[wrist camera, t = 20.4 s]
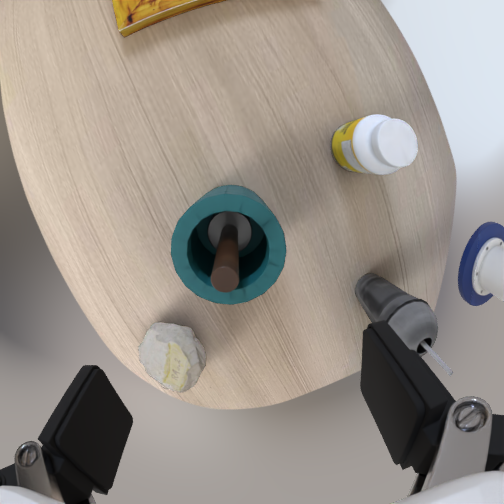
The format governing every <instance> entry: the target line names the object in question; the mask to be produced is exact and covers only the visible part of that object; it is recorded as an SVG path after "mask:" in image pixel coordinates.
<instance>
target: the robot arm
mask: <svg viewBox="0 0 504 504" xmlns="http://www.w3.org/2000/svg"><path fill="white" fill-rule="evenodd" d="M472 285H473V289H474V290H475V292H476V293H478V294H479V295H487V294H489V293H491V294H493V295H494V296H496V297H498V298H499V299H500V300H502V301H503V302H504V242H503V241H502V240H501V239H499V238H495V237H494V238H491V239H489V240H488V241H487V242H486V243H485V244H484V245H483V246H482V247H481V249H480V251H479V253H478V255H477V257H476V260H475V263H474V266H473V271H472ZM360 386H361V391H362V394H363V396H364V399H365V401H366V403H367V405H368V407H369V409H370V411H371V413H372V415H373V418H374V419H375V422H376V424H377V426H378V428H379V431H380V433H381V435H382V437H383V439H384V442H385V444H386V446H387V448H388V450H389V453H390V455H391V457H392V459H393V462H394V463H395V464H396V465H397V464H400V465H401V467H402V469H405V468H408V467H410V466H412V467H413V469H414V471H415V472H416V473H417V475H416V477H415V480H414V482H413V485H412V487H411V490H410V492H409V494H408V496H407V498H404V499H401V500H399V501H396V502H393V503H391V504H504V415H496V414H492V410H491V408H490V406H489V404H488V403H486V401H485V400H483V399H481V398H478V397H474V396H470V397H464V398H461V399H459V400H458V401H455V400H454V399H453V397H452V396H451V394H450V393H449V392H448V390H447V389H446V388H445V387H444V385H443V384H442V383H441V382H440V380H439V379H438V378H437V377H436V375H435V374H434V373H433V372H432V370H431V369H430V368H429V366H428V365H427V364H426V363H425V361H424V360H423V359H422V358H421V357H420V355H419V354H418V353H417V352H416V351H415V350H412V349H411V350H410V349H409V348H408V347H407V346H406V344H405V343H404V342H403V341H402V340H401V338H400V337H399V336H398V335H397V333H396V332H395V331H394V330H393V329H392V327H391V326H390V325H389V324H388V323H387V322H386V321H385V320H381V321H378V322H375V323H371V324H369V325H368V327H367V329H366V330H364V331H363V348H362V369H361V385H360ZM132 423H133V418H132V416H131V414H130V412H129V411H128V410H127V408H126V407H125V405H124V403H123V402H122V400H121V399H120V397H119V396H118V394H117V393H116V391H115V389H114V388H113V386H112V385H111V383H110V381H109V380H108V378H107V376H106V374H105V373H104V371H103V370H102V369H100V368H99V367H98V366H96V365H85V366H83V367H82V368H81V369H80V371H79V373H78V374H77V375H76V377H75V378H74V380H73V382H72V383H71V385H70V386H69V388H68V389H67V391H66V392H65V394H64V396H63V397H62V399H61V401H60V402H59V404H58V405H57V407H56V409H55V410H54V412H53V413H52V415H51V417H50V419H49V420H48V422H47V424H46V425H45V427H44V429H43V431H42V433H41V434H40V436H39V438H38V440H39V441H40V442H41V443H42V444H43V446H42V447H41V446H40V445H39V444H38V443H36V442H33V441H29V442H26V443H24V444H22V445H21V446H20V447H19V448H18V449H17V451H16V454H15V463H14V464H12V465H10V466H8V467H5V468H3V469H1V470H0V504H96V502H95V500H94V498H93V496H92V494H91V493H92V490H94V491H95V492H97V493H100V494H105V495H107V494H108V490H109V489H111V488H112V485H113V482H114V478H115V476H116V472H117V469H118V466H119V463H120V459H121V456H122V453H123V450H124V447H125V444H126V441H127V438H128V435H129V433H130V430H131V427H132Z"/></svg>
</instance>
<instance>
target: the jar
mask: <svg viewBox="0 0 504 504" xmlns="http://www.w3.org/2000/svg"><path fill="white" fill-rule="evenodd" d="M223 211H231V212H240V213H242V214H244V215H246V216H248V217H249V219H250V223H251V227H252V237H251V240H250V242H249V244H248V245H247V247H246V248H245V249H243V250H242V251H240V252H239V284H238V286H237V287H236V288H235V289H234V290H233V291H231V292H227V293H223V292H219V291H217V290H216V289H215V288H214V287H213V286H212V283H211V274H212V270H213V265H214V261H215V257H216V252H217V250H216V249H215V248H214V247H213V246H212V245H211V243H210V241H209V238H208V232H207V231H208V226H209V223H210V221H211V219H212V217H213V215H214V214H215V213H218V212H223ZM285 256H286V243H285V237H284V233H283V230H282V228H281V226H280V224H279V222H278V221H277V219H276V217H275V216H274V214H273V213H272V212H271V210H270V209H269V208H268V206H267V205H266V204H265V203H264V201H263V200H262V199H261V198H260V197H259V196H258V195H257V194H255V193H254V192H253V191H251V190H249V189H247V188H245V187H242V186H237V185H226V186H221V187H217V188H215V189H213V190H211V191H210V192H208V193H206V194H205V195H204V196H203V197H201V198H200V199H199V200H198V201H197V202H195V203H194V204H193V205H192V206H191V207H190V208H189V209H188V210H187V211H186V212H185V213H184V215H183V216H182V217H181V218H180V219H179V221H178V223H177V225H176V228H175V230H174V233H173V235H172V241H171V257H172V260H173V264H174V267H175V271H176V273H177V274H178V276H179V277H180V279H181V280H182V282H183V283H184V285H186V287H187V288H189V289H190V290H191V291H192V292H194V293H195V294H196V295H197V296H199V297H201V298H204V299H206V300H209V301H211V302H215V303H220V304H230V305H231V304H232V305H233V304H238V303H243V302H248V301H250V300H252V299H254V298H256V297H258V296H260V295H262V294H263V293H265V292H266V291H267V290H268V289H269V288H270V287H271V286H272V285H273V284H274V283H275V282H276V280H277V278H278V277H279V275H280V273H281V271H282V269H283V267H284V262H285Z"/></svg>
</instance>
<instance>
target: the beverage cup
mask: <svg viewBox="0 0 504 504" xmlns="http://www.w3.org/2000/svg"><path fill="white" fill-rule="evenodd" d="M355 294H356V296H357V298H358V300H359V302H360V304H361V306H362V307H363V309H364V310H365V312H366V314H367V315H368V317H369V319H370V320H371V322H372V323H375V322H378V321H381V320H385V321H386V322H387V323H388V324H389V325H390V326H391V327H392V329H393V330H394V331H395V332H396V333H397V335H398V336H399V337H400V338H401V340H402V341H403V342H404V343H405V344H406V346H407V347H408V348H409V349H410V350H411V349H412V350H415V351H416V352H417V353H418V354H419V355H420V357H422V356H423V355H425V354H426V353H427V352H428V353H429V354H430V355H431V356H432V357H433V358H434V359H435V360H436V361H437V362H438V363H439V364H440V366H441V367H442V368H443V369H444V370H445V371H446V372H447V373H448V374H449V375H452V373H453V371H452V370H451V369H450V368H449V367H448V366H447V365H446V364H445V363H444V361H443V360H442V359H441V358H440V357H439V356H438V355H437V354H436V353H435V352H434V351H433V350H432V349H431V348H432V346H433V345H434V343H435V340H436V338H437V332H438V326H437V318H436V316H435V314H434V312H433V311H432V309H431V308H430V306H429V305H428V303H427V302H426V301H424V300H422V299H418V298H416V297H414V296H411V295H409V294H407V293H406V292H404V291H403V290H401V289H400V288H398V287H396V286H395V285H393V284H392V283H390V282H388V281H387V280H385V279H384V278H382V277H380V276H378V275H376V274H371V273H370V274H366V275H365V276H363V277H362V278H361V279H360V280H359V281H358V283H357V284H356V288H355Z"/></svg>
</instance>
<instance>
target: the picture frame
mask: <svg viewBox="0 0 504 504" xmlns="http://www.w3.org/2000/svg"><path fill="white" fill-rule="evenodd" d="M222 1H226V0H112V2H113V7H114V12H115V16H116V21H117V25H118V29H119V32H120V33H121V34H122V35H123V36H124V37H126V36H128V35H130V34H132V33H134V32H137V31H139V30H141V29H143V28H145V27H148V26H150V25H152V24H155V23H157V22H160V21H162V20H165V19H167V18H170V17H173V16H176V15H178V14H181V13H184V12H187V11H190V10H193V9H197V8H200V7H203V6H207V5H210V4H214V3H218V2H222Z"/></svg>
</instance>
